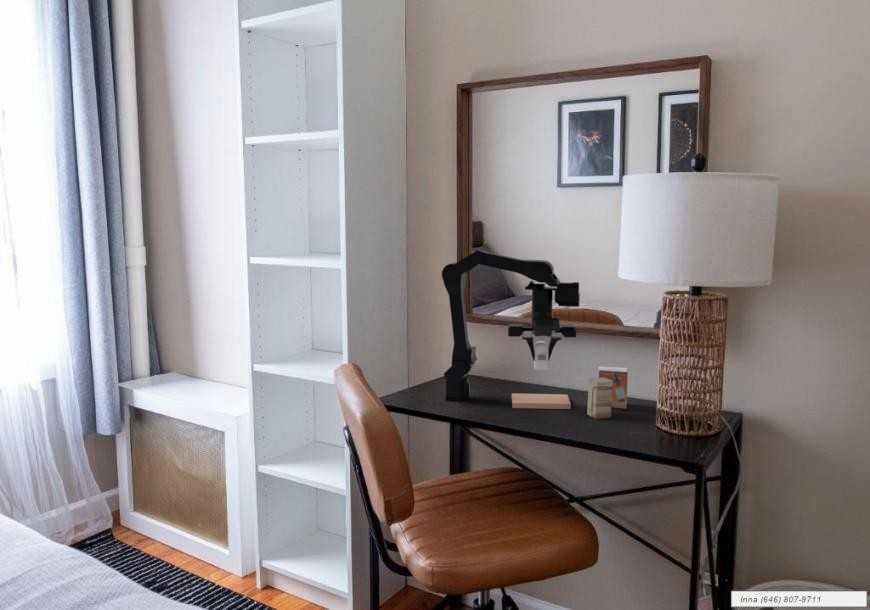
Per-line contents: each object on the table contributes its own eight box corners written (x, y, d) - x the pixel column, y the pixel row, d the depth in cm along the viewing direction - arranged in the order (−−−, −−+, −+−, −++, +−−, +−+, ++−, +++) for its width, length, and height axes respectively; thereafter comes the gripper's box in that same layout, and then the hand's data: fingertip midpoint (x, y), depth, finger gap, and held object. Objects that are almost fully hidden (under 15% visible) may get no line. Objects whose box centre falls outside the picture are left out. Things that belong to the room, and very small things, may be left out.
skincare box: (595, 419, 190) (596, 382, 188) (586, 414, 194) (587, 378, 192) (612, 417, 191) (613, 380, 190) (603, 412, 195) (604, 376, 194)
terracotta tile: (512, 407, 200) (512, 402, 200) (511, 398, 210) (511, 393, 210) (570, 409, 199) (570, 403, 199) (567, 399, 209) (567, 394, 209)
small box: (597, 407, 201) (598, 370, 200) (597, 401, 207) (598, 365, 205) (626, 408, 199) (628, 371, 198) (626, 403, 205) (627, 367, 203)
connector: (535, 370, 200) (535, 344, 199) (533, 365, 206) (534, 340, 205) (548, 370, 199) (548, 345, 198) (546, 366, 205) (547, 340, 204)
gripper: (509, 309, 194) (508, 366, 196) (579, 310, 192) (577, 367, 194) (508, 304, 205) (507, 357, 207) (574, 304, 203) (573, 358, 205)
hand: (540, 360), depth 203 cm, fingers closed on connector, 4 cm apart
